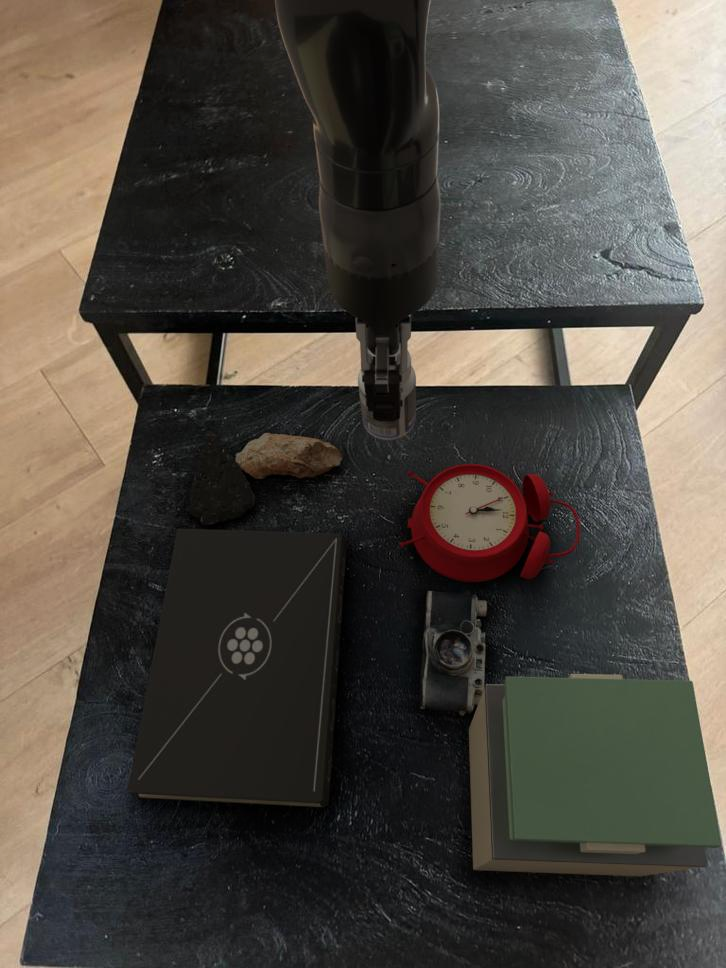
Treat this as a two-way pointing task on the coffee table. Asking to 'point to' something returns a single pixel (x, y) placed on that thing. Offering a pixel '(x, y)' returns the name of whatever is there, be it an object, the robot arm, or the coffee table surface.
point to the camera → (452, 652)
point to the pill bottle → (407, 413)
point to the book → (244, 670)
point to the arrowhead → (218, 486)
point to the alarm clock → (481, 523)
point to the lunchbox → (606, 763)
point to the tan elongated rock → (287, 456)
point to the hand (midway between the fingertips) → (387, 389)
